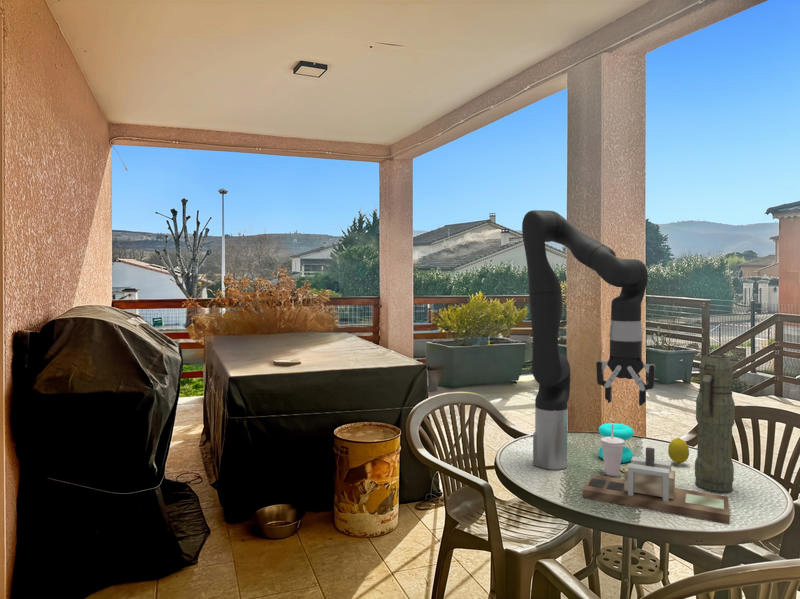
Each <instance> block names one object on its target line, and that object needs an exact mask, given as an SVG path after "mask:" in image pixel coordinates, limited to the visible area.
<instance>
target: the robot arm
mask: <svg viewBox="0 0 800 599" xmlns="http://www.w3.org/2000/svg"><path fill="white" fill-rule="evenodd" d="M521 223H522V224H521V231H522V232H521V234H522V239H523V245H524V246H523V247H524V252H525V259H526V267H527V268H526V269H527V277H528V298H529V310H530V321H531V322H530V323H531V332H532V358H531V360H532V361H531V372H532V376H533V378H534V380H535V381H536V382H537V383H538V391H537V393H536V394H537V395H536V397H535V400H534V401H535V403H534V405H535V406H534V407H535V408H534V409H535V410H534V413H535V414H534V415H535V416H534V417H535V418H534V420H535V422H534V428H535V429H534V432H533V433H532V465H533V464H534V465H533V466H536V465H537V466H536V467H538V468H541V469H544V470H545V469H546V470H552V471H553V470H554V471H555V470H556V471H557V470H564V469H566V468H567V467H568V404H569V398H570V394H571V393H570V392H571V390H570V389H571V366H570V363H569V361H568V358H566V356H564V354H562V353H560V351H559V331H560V325H561V320H562V314H563V296H562V294H563V293H562V286H561V285H562V284H561V283H560V280H559V279H558V276H557V274H556V273H555V271H554V269H553V268H552V266H551V265H550V263H549V260H548V257H547V249H546V243H551V242H553V243H556V244H559V245H562V246H564V247H566V248H567V249H568V250H569V251H570V253H571V254H572V256H573V257H574V259H575V260H577V261H578V262H579V263H581V264H583V265H584V266H586V267H587V268H589V269H591V270H593V271H595V272H596V274H597V275H599V277H600V278H601V279H602V280H603V281H604V282H605V283H607V284H608V285H611V286H612V287H616V288H621V290H620V294H619V296H616V297H615V298H613V299H612V300H611V303H610V304H611V305H610V306H611V308H610V327H609V333H608V334H609V336H608V338H609V358H608V361H607V360H606V361H605V360H603V361H602V360H598V361H596V364H595V366H596V368H595V369H596V383H597V385H600V386H602V387H604V399H605V401H607V403H609V404H610V403H612V401H613V398H612V396H613V395H612V394H613V393H612V392H613V389H612V388H613V387H612V384H613V382H614V381H615V379H616V378H618V379H627V380H632V379H633V380H634V383H635V384H636V385H637V387H638V388H639V392H638V406H641V407H642V406H643V405H644V404H645V403H646V401H647V390H652V389H654V387H655V380H656V379H655V378H656V364H654V363H650V364H649V363H644V362H643V357H642V355H643V354H642V352H643V328H642V327H643V326H642V302H643V300H644V296H645V292H646V288H647V284H648V278H649V273H648V272H649V271H648V269H647V266H646V264H645V263H644V262H643V261H641V260H640V259H636V258H633V259H632V258H630V259H629V258H628V259H626V258H620V257H617V255H616V252H615V251H614V249H612V248H611V247H609V246H608V245H605V244H603V243H602V242H601V241H598V240H596V239H594V238H593V237H591V236H588V234H586V233H584V232H582V230H580V229H578V228H577V227H576V226H574V225H573V224H572V223H571V222H570V221H568V220H567V219H566V218H565V217H563V215H561V214H560V213H558V212H557V211H554V210H543V209H542V210H541V209H540V210H538V209H537V210H536V209H535V210H534V209H533V210H529V211H527V213H525V215H524V217H523V218H522V222H521ZM607 366H608V368H609V370H610V371H611V372H612V373H611V374H610V376H609V377H608V379H607V380H605V378H604V370H606V367H607ZM643 369H645V372H646V373H647V374H648V380H647V383H646V384H645V382H644V381H643V378H642V377H641V374H640V372H641V371H642V370H643Z"/></svg>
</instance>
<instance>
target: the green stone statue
mask: <svg viewBox="0 0 800 599" xmlns="http://www.w3.org/2000/svg"><path fill="white" fill-rule="evenodd" d="M698 367H699V369H698V370H699V371H698V372H699V373H698V385H699V389H698V395H697V396H696V399H695V403H696V404H695V420H696V423H697V448H696V449H697V450H696V451H697V455H696V459H695V461H694V476H695V482H694V485H695V487H696V488H698V489H700V490H702V491H706V492H707V493H711V494H730V493H732V492H733V490H734V488H733V484H734V483H733V482H734V476H735V471H734V470H735V468H734V463H733V459H732V456H733V454H732V453H733V441H732V440H733V427H734V424H735V417H736V416H735V413H736V412H735V411H736V410H735V408H736V407H735V406H736V405H735V401H734V398H733V391H732V387H733V375H734V374H733V371H734V370H733V365H732V362H731V360H730V357H728V356H726V355H724V354H715V353H714V354H713V353H711V354H710V353H709V354H705V355H702V357H701V360H700V361H699V366H698Z"/></svg>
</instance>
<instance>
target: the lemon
mask: <svg viewBox="0 0 800 599" xmlns="http://www.w3.org/2000/svg"><path fill="white" fill-rule="evenodd" d="M689 449H690V448H689V446H688V444H687V442H686V441H685V440H684V439H682V438H680V437H677V438H673V439H672V440H671V441H670V442H669V444H668V449H667V450H668V451H667V452H668V456H669V458H670V459H671V460H672V462H675V464H676V465H681V464H683V463H685V462H686V461H687V460H688V459H689V455H690V450H689Z"/></svg>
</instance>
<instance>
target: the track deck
mask: <svg viewBox="0 0 800 599" xmlns="http://www.w3.org/2000/svg"><path fill="white" fill-rule="evenodd" d="M624 485H625V478H624V479H623V478H616V477H611V476H606V475H605V476H604V475H597V474H593V473H592V474H590V476H589V478H588V480H587V482H586V483H585V485H584V486H583V488H582V498H585V497H586V498H587V499H591V500H596V499H597V501H601V502H609V503H613V504H619V505H623V506H630V507H634V508H640V509H644V510H650V511H657V512H661V513H666V514H667V513H668V514H673V515H678V516H683V517H688V518H693V519H699V520H704V519H706V520H705V521H710V520H712V521H711V522H715V521H717V522H716V523H721V522H722V524H726V523H728V524H727V525H730V521H731V520H730V517H731V516H730V506H729V505H730V504H729V496H725V495H720V494H716V493H710V492H703V491H702V492H701V491H697V490H690V489H683V488H679V487H678V488H677V487H675V493H674V499H670V498H669V502H664V501H663V497H659V496H653V495H647V494H641V493H635V492H634V495H633V496H630V495H628V491H624Z"/></svg>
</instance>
